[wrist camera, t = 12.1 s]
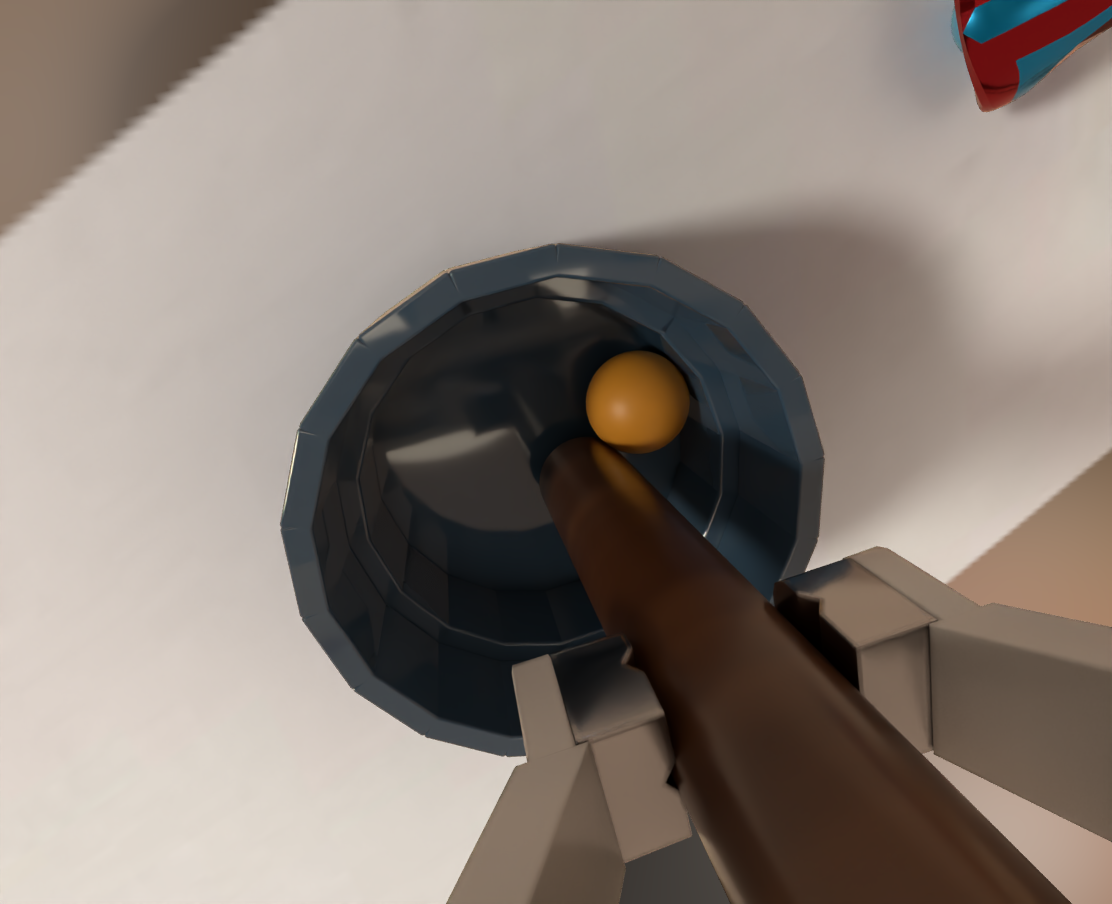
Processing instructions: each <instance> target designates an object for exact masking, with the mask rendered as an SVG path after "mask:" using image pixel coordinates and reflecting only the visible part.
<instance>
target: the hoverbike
mask: <svg viewBox="0 0 1112 904" xmlns="http://www.w3.org/2000/svg"><path fill="white" fill-rule="evenodd" d="M954 3H955V6H954V9H953V15H952V21H951V29H952V35H953V39H954V41H955V43H956V45H957V46H958V48H959V49H960V50H961V51H962V53H963V54H964V57H965V61H966V65H967V68H968V72H969V75H970V78H971V81H972V84H973V87H974V91H975V96H976V100H977V104H978V106H979V109H980V110H981V111H982V112H990V111H994V110H996V109H998V108H1001V107H1003V106H1005V105H1007V104H1009V103H1011V102H1013V101H1015V100H1016V99H1018V98H1019V97H1021V96H1023V95H1024V94H1026V93H1027V92H1028V91H1029V90H1031V89H1032V88H1033V87H1034V86H1035V85H1037V84H1038V83H1039V82H1040V81H1041V80H1042V79H1044V78H1045V77H1046V76H1047V75H1048V74H1049V73H1050V72H1051V71H1052V70H1054V69H1055V68H1056V67H1057V66H1058V65H1059V64H1061V63H1062V62H1063V61H1064V60H1065V59H1067V58H1068V57H1069V56H1070V55H1071V54H1072V53H1074V52H1075V51H1076V50H1078V49H1079V48H1081V47H1082V46H1084V45H1085V44H1087V43H1088V42H1090V41H1091V40H1093V39H1094V38H1095V37H1097V36H1098V35H1100V34H1101V33H1103V32H1104V31H1106V30H1107V29H1109V28H1110V27H1112V0H954Z"/></svg>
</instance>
